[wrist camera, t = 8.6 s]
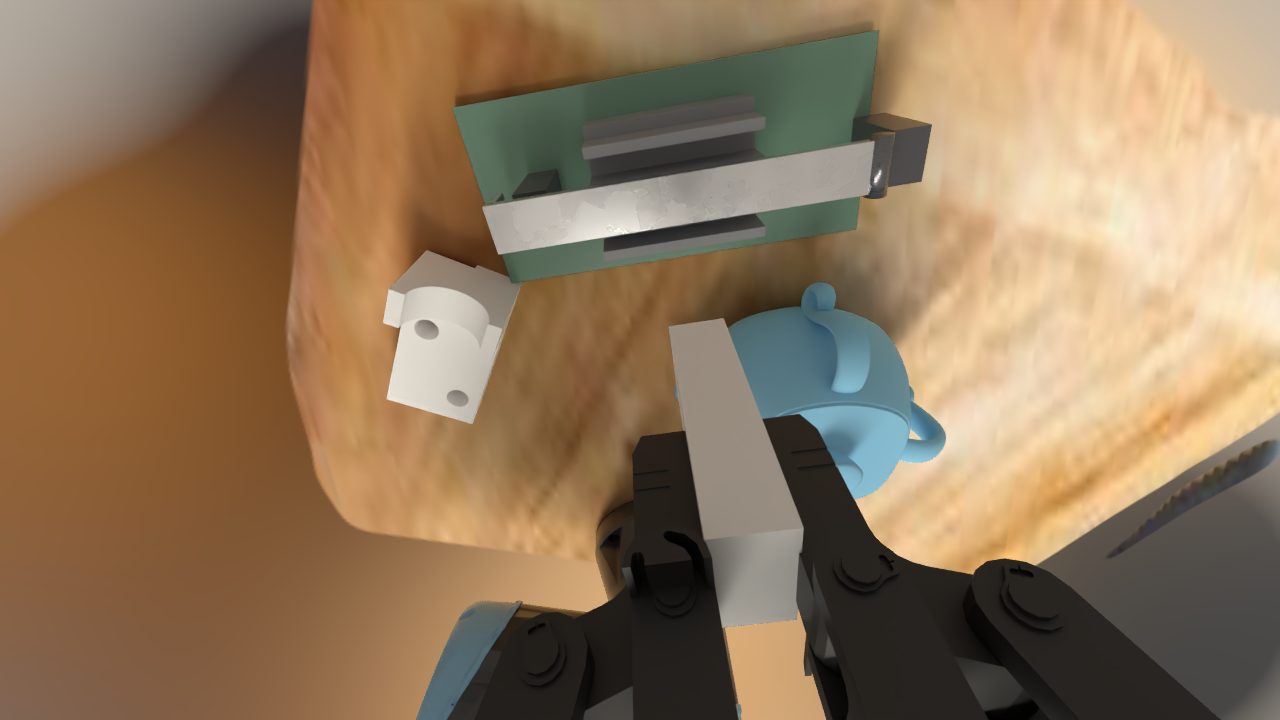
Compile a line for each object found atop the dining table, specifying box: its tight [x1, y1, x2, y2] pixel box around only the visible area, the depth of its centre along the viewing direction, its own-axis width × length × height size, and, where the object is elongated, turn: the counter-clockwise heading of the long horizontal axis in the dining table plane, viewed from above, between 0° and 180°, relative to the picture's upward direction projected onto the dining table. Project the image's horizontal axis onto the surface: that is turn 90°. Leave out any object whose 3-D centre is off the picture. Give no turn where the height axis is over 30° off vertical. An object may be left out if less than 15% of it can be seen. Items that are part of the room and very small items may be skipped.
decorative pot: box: [674, 282, 946, 499], centre depth 36 cm, size 16×16×14 cm
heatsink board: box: [452, 30, 932, 283], centre depth 29 cm, size 12×27×6 cm, turn 99°
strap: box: [482, 132, 895, 254], centre depth 27 cm, size 3×23×3 cm, turn 99°
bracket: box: [383, 250, 522, 424], centre depth 36 cm, size 13×7×8 cm, turn 155°
